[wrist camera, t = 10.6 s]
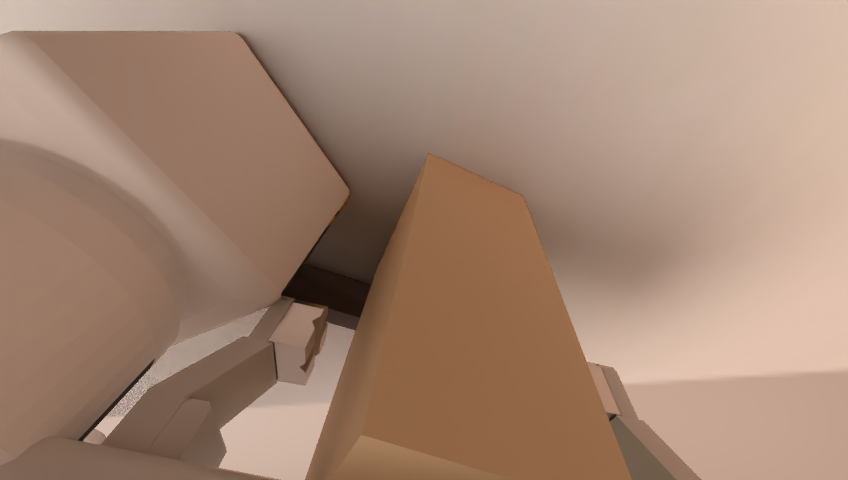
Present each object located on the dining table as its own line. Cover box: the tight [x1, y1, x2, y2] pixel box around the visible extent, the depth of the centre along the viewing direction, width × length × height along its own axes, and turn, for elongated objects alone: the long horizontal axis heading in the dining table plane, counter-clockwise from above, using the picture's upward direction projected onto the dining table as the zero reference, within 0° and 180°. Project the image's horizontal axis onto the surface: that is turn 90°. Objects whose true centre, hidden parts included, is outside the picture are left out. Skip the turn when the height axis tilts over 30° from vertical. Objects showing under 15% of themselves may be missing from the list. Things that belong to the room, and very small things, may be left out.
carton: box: [305, 154, 632, 480], centre depth 11 cm, size 5×7×11 cm
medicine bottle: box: [0, 31, 350, 465], centre depth 9 cm, size 7×7×12 cm
